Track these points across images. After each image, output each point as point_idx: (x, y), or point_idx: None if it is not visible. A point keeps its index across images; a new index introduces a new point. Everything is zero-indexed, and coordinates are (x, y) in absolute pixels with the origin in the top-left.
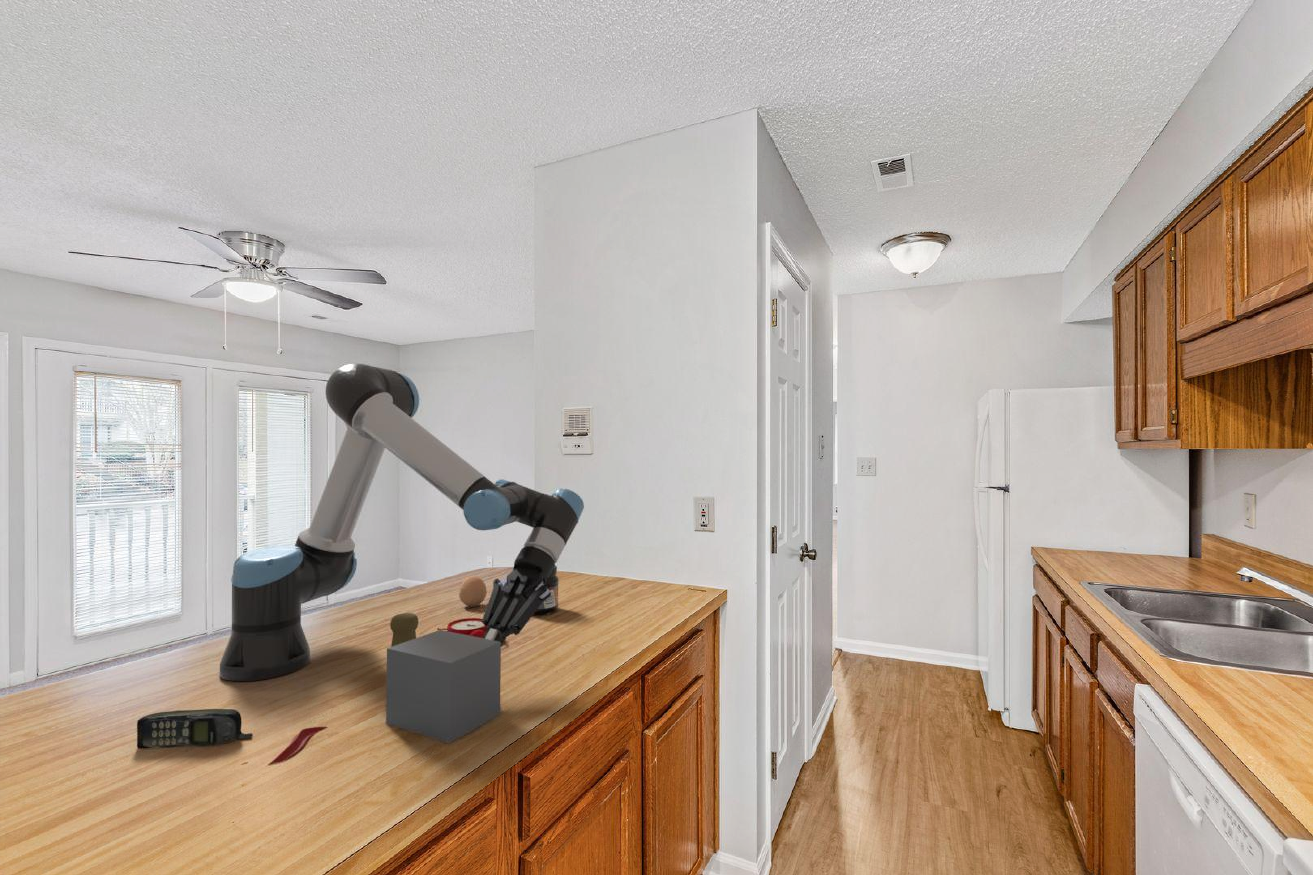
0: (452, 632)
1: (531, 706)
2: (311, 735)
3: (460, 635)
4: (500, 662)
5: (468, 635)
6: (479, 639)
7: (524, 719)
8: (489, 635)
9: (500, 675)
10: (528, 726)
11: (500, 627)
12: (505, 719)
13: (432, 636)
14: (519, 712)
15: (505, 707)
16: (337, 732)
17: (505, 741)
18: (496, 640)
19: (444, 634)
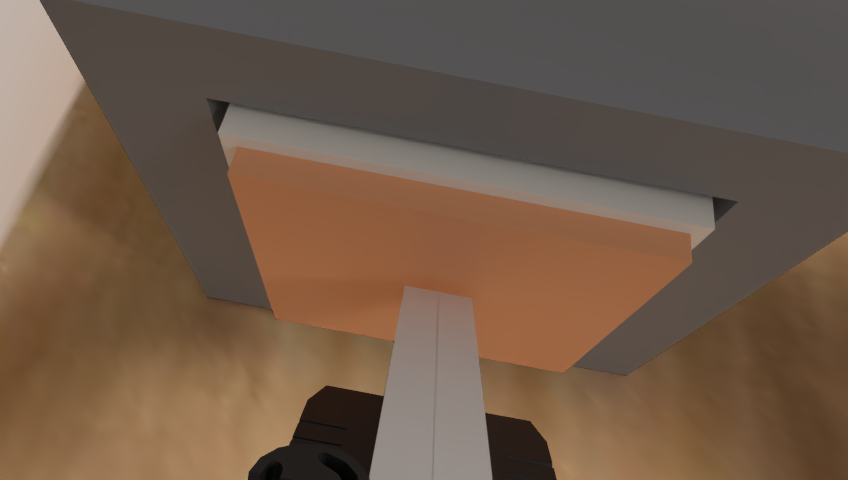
0: (744, 129)
1: (60, 432)
2: None
3: (589, 72)
4: (115, 130)
5: (509, 86)
6: (313, 12)
7: (56, 282)
8: (442, 439)
9: (147, 190)
10: (15, 226)
11: (275, 460)
12: (157, 259)
13: (798, 2)
14: (110, 343)
15: (213, 375)
16: None
17: (83, 104)
18: (330, 443)
19: (759, 67)
